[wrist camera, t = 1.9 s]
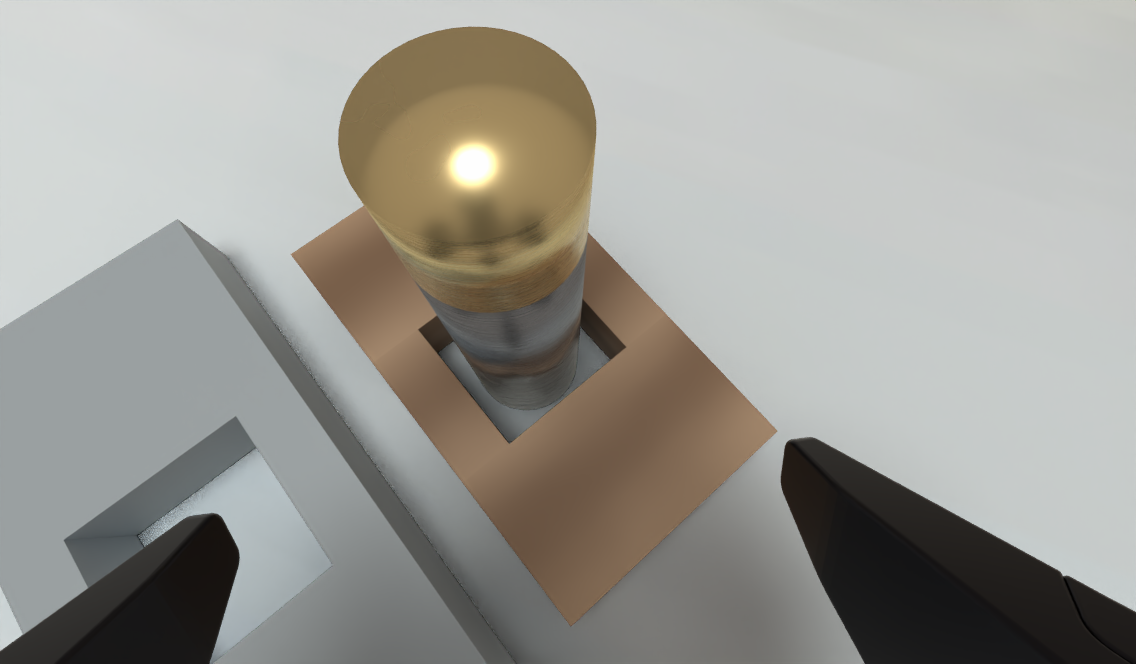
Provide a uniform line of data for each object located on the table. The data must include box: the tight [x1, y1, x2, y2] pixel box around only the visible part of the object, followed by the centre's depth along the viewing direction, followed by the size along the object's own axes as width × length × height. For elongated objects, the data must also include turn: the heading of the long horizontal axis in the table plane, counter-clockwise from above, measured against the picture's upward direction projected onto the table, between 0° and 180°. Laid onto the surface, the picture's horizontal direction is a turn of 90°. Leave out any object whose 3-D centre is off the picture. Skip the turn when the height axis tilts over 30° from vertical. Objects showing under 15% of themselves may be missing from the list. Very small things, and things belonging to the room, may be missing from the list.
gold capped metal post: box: [338, 27, 596, 410], centre depth 15 cm, size 4×4×14 cm
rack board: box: [0, 219, 516, 664], centre depth 18 cm, size 22×10×3 cm, turn 40°
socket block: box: [291, 206, 777, 626], centre depth 20 cm, size 16×9×3 cm, turn 40°
